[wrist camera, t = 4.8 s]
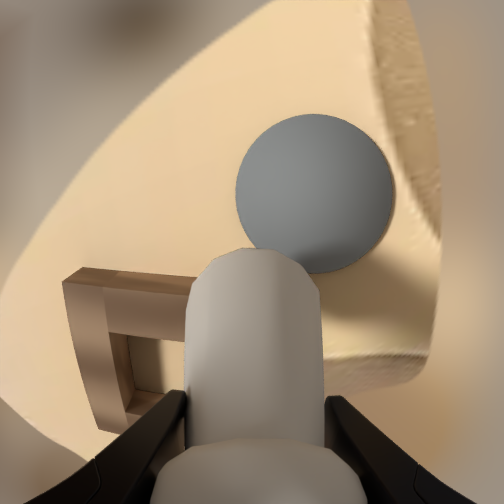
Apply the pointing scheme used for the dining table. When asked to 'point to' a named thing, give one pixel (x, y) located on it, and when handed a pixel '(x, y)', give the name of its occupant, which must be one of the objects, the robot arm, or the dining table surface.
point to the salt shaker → (255, 391)
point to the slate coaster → (314, 192)
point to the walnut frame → (120, 334)
